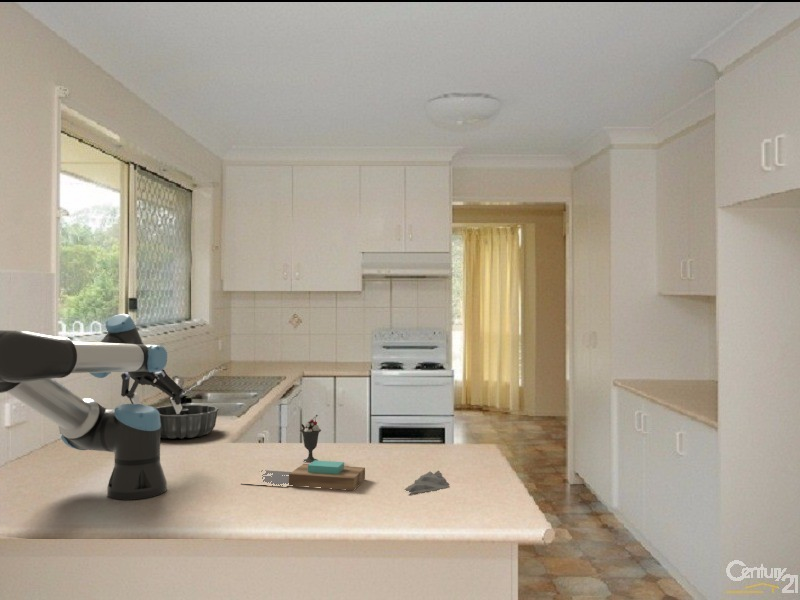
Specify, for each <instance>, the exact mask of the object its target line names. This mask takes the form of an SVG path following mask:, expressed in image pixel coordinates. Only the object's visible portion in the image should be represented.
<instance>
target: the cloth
mask: <svg viewBox="0 0 800 600" xmlns="http://www.w3.org/2000/svg"><path fill="white" fill-rule="evenodd" d="M450 487H451V486H450V484H449V482H447V479H446V478H445V477H444V476H443V474H441V472H440V470H436V471H435V472H434V473H433V472H431V471H428V472H426V473H425V474H422V475H420V476H419V478H418V479H415V480H414V483H412V484H410V485H408V486H407V487H406V488H405V489H404V490H406V491H409V492H408V496H412V495H411V494H414V495H419V494H418V493H421V494H424V493H425V492H427V493H431V491H432V492H437V490H438V491H439V490H440V489H441V490H445V489H449V488H450ZM406 491H405V492H406Z"/></svg>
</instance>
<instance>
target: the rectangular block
mask: <svg viewBox="0 0 800 600" xmlns="http://www.w3.org/2000/svg"><path fill="white" fill-rule="evenodd" d="M308 464H309V465H308V472H311V473H326V474H339V473H340V472H341V471H342V470H344V466H345V462H344V461H333V460H331V461H330V460H319V459H317V460H315V461H313V462H312V463H308Z"/></svg>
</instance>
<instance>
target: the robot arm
mask: <svg viewBox="0 0 800 600" xmlns="http://www.w3.org/2000/svg"><path fill="white" fill-rule="evenodd" d="M105 331H106V332H107V334H106V335H104V337H103V338H102V340H100V342H91V341H72V340H71V339H70V338H68V337H65V336H54V335H48V334H42V333H38V332H32V331H27V330H26V331H25V330H3V329H0V394H4V393H7V394H9V395H10V396H12V397H14V398H15V399H17V400H19V401H20V402H22V403H23V404H25V405H26V406H28V407H29V408H31V409H33V410H34V411H36V412H37V413H39V414H40V415H42V416H43V417H45V419H46V418H47V419H48V420H49V421H51V422H53V423H55V424H56V425H57V426H58V431H59V434H60V435H61V436H60V439H61V440H62V442H63V443H64V444H65V445H66V446H67V447H70V448H72V449H75V450H77V451H88V450H89V451H95V452H96V451H97V452H109V453H114V464H113V465H114V466H113V469H112V472H111V475H110V478H109V480H108V484H107V491H106V492H107V497H108V498H111V499H115V500H125V501H126V500H133V501H134V500H143V499H149V498H153V497H156V496H159V495H161V494H164V493H165V492H166V491H167V486H168V485H167V484H168V483H167V479H166V476H165V472H164V470H163V466H162V464H161V437H160V427H161V423H160V413H159V412H158V410H157V409H156V408H157V407H154V406H151V405H147V404H143V402H142V400H141V398H140V396H139V393H138V392H136V390H137V387H138V386H139V385H141V386H145V385H146V386H152V387H153V388H157V389H159V390H160V391H162V392H163V393H164V394H166V395H168V396H169V397H170V398H169V400H170V402H171V404H172V405H173V407H174V409H175V411H176V413H177V414H179V413H180V411H181V410H182V406H181V405H182V404H181V402H182V400H181V398H180V397H181V394H182V393H183V391H184V390H183V389H182V387H180V386H179V385H178V383H176V381H175V380H173V379H172V378H171V377H170V376H169V375H168V374H167V372H166V370H165V368H166V366H167V363H168V352H167V350H166V348H165V347H164V346H162V345H161V344H160V345H159V344H158V345H157V344H144V342H143V340H142V337H141V335H140V333H139V330H138V328H137V325H136V324H135V322H134V320H133V318H132V316H130V315H129V314H126V313H120V314H116V315H113V316H111V317H109V318H108V319H107V321H106V322H105ZM118 372H119V373H121V374H120V377H121V380H122V381H121V383H122V384H121V392H120V396H121V397H126V398H128V399H129V402H130V403H124V404H123V403H122V404H118V405H117V406H115V408H109V407H108V408H107V407H104V406H102V405H101V404H100V403H98V402H97V401H96V400H95V399H92V398H88V397H83V398H81V397H80V396H78V395H77V394H75V393H74V392H73V391H71V390H70V389H68V388H67V387H66V386H65V385H63V384H62V383H61V382H59V381H57V380H56V379H62V378H66V377H68V376H69V375H71V374H88V373H89V374H90V375H91V376H93V377H95V378H97V379H103V378H106V377H107V376H108V375H110V374H111V373H118ZM130 379H132V380H134V381H133V384H132V386H131V387H130Z"/></svg>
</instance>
